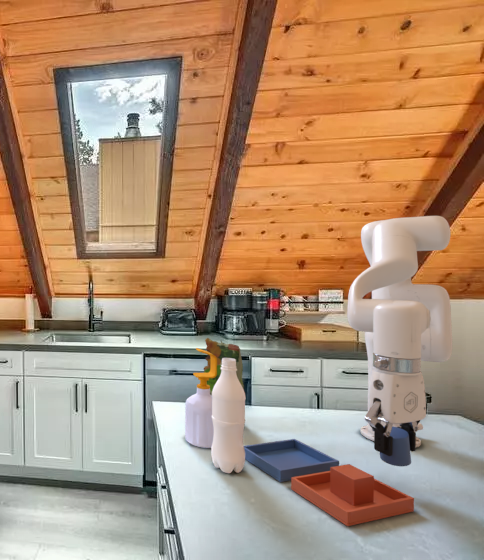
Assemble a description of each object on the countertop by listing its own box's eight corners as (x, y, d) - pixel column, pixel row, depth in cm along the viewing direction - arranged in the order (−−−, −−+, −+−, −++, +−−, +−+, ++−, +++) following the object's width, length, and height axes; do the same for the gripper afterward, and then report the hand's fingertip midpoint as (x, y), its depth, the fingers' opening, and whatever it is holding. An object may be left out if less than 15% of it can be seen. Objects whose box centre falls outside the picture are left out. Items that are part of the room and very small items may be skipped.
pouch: (244, 434, 107) (244, 344, 107) (199, 426, 112) (200, 341, 112) (245, 420, 117) (245, 338, 117) (204, 414, 122) (204, 335, 122)
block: (348, 488, 79) (349, 463, 79) (373, 501, 74) (374, 476, 74) (329, 491, 78) (330, 467, 78) (354, 506, 73) (354, 479, 73)
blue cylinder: (390, 449, 83) (388, 423, 82) (417, 461, 78) (414, 433, 78) (374, 457, 82) (371, 430, 81) (400, 469, 77) (397, 441, 76)
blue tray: (294, 448, 98) (294, 438, 98) (339, 471, 86) (339, 460, 86) (240, 456, 94) (241, 446, 94) (280, 482, 82) (280, 470, 82)
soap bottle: (181, 433, 107) (182, 345, 107) (214, 434, 107) (215, 346, 106) (190, 448, 98) (191, 352, 98) (226, 449, 98) (227, 352, 97)
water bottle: (248, 477, 84) (249, 363, 83) (213, 474, 85) (214, 361, 85) (241, 462, 91) (242, 356, 90) (209, 459, 92) (210, 355, 92)
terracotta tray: (351, 478, 84) (351, 466, 84) (414, 511, 72) (414, 498, 72) (291, 489, 79) (291, 477, 79) (347, 526, 68) (347, 512, 68)
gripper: (384, 372, 73) (382, 466, 73) (447, 364, 77) (445, 453, 78) (346, 363, 80) (345, 448, 81) (406, 356, 85) (404, 437, 85)
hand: (394, 449), depth 79 cm, fingers closed on blue cylinder, 5 cm apart
